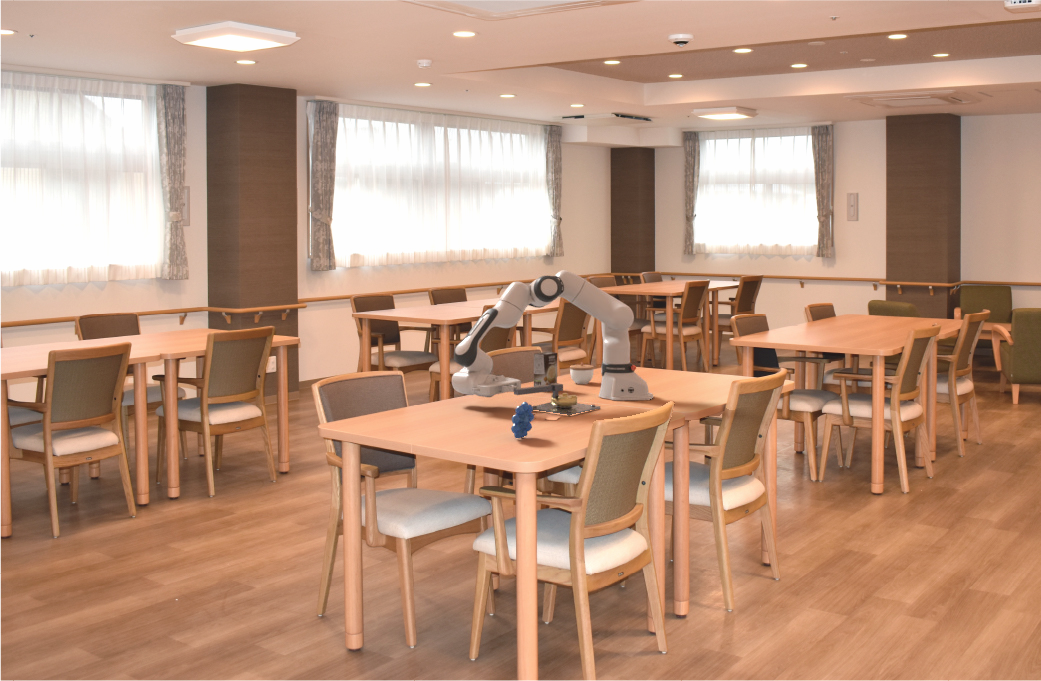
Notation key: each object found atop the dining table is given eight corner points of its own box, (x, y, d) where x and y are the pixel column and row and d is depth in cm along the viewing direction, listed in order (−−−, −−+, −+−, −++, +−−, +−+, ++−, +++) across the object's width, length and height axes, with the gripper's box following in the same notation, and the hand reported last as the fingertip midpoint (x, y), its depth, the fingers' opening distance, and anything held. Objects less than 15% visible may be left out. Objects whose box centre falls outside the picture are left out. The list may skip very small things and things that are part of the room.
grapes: (521, 433, 326) (521, 398, 324) (538, 436, 322) (538, 400, 320) (501, 439, 316) (501, 403, 315) (519, 442, 312) (519, 405, 311)
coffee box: (545, 392, 410) (545, 354, 408) (533, 390, 414) (533, 353, 412) (557, 389, 418) (557, 352, 416) (545, 388, 421) (545, 351, 419)
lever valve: (565, 400, 377) (565, 380, 376) (582, 404, 369) (582, 383, 368) (507, 408, 360) (507, 387, 359) (524, 412, 352) (524, 390, 351)
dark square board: (557, 403, 384) (558, 398, 384) (600, 408, 372) (600, 403, 372) (527, 410, 368) (527, 405, 368) (570, 416, 356) (570, 411, 356)
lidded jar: (567, 384, 432) (567, 363, 431) (572, 380, 442) (573, 360, 441) (590, 385, 428) (590, 364, 427) (595, 382, 439) (596, 361, 438)
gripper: (469, 380, 362) (497, 384, 354) (503, 374, 378) (531, 377, 370) (469, 397, 363) (497, 401, 354) (503, 390, 379) (531, 394, 371)
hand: (515, 389), depth 362 cm, fingers closed
